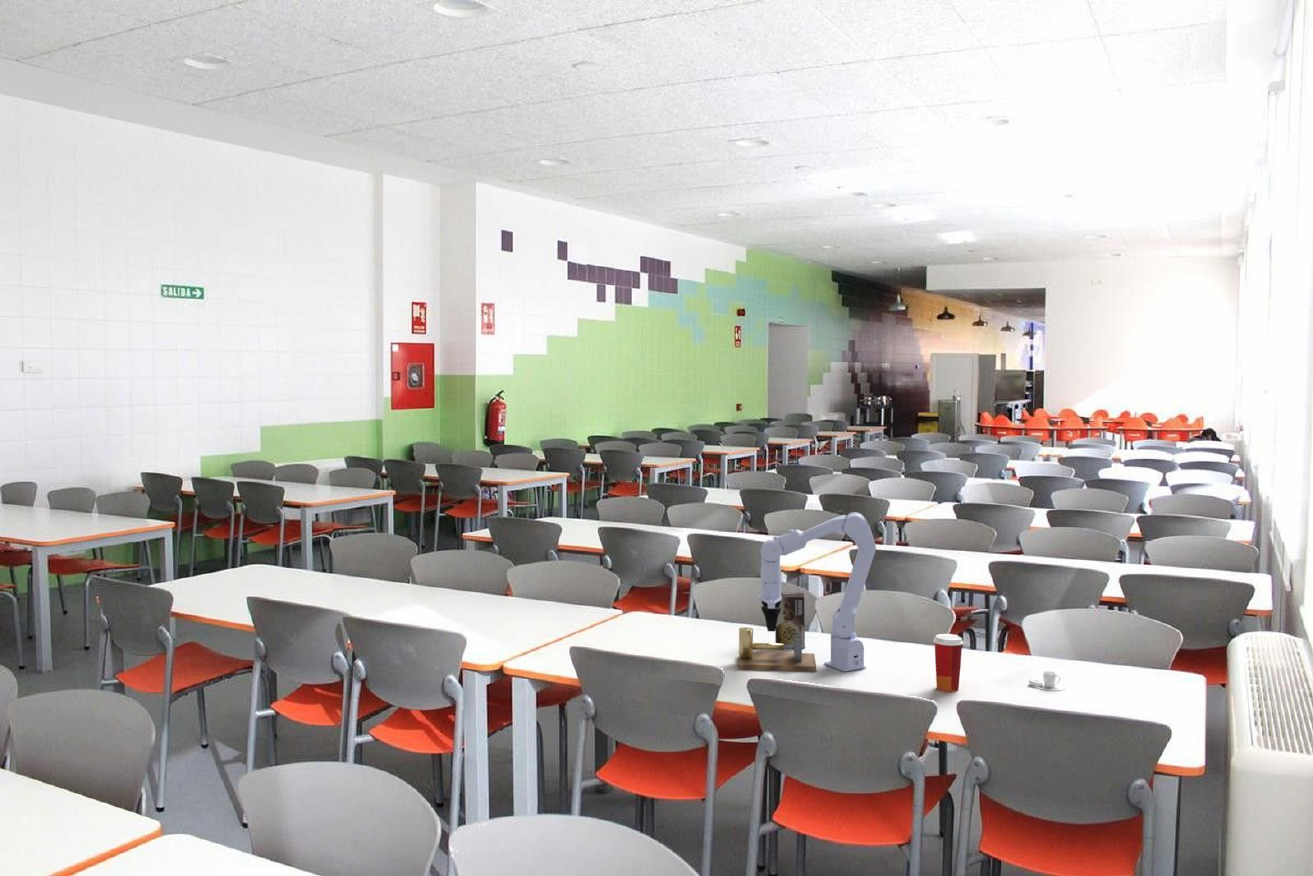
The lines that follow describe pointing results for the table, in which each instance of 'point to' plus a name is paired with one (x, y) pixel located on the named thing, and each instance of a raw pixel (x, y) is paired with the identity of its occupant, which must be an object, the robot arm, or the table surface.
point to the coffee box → (791, 619)
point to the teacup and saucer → (1047, 681)
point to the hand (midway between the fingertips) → (771, 628)
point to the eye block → (781, 660)
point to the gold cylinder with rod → (753, 644)
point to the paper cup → (948, 661)
